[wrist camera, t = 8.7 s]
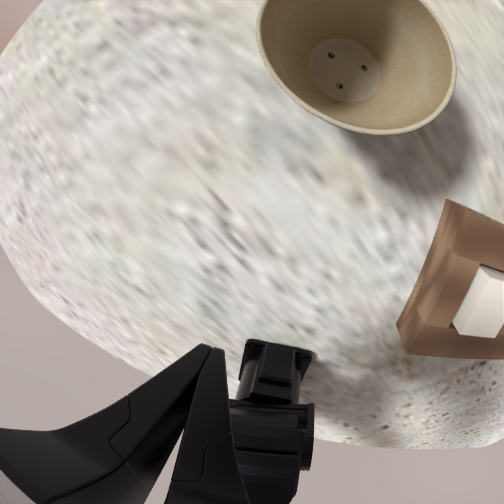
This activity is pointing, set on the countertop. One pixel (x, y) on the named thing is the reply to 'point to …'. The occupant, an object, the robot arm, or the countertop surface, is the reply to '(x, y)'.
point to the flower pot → (360, 61)
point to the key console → (452, 286)
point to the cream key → (482, 304)
